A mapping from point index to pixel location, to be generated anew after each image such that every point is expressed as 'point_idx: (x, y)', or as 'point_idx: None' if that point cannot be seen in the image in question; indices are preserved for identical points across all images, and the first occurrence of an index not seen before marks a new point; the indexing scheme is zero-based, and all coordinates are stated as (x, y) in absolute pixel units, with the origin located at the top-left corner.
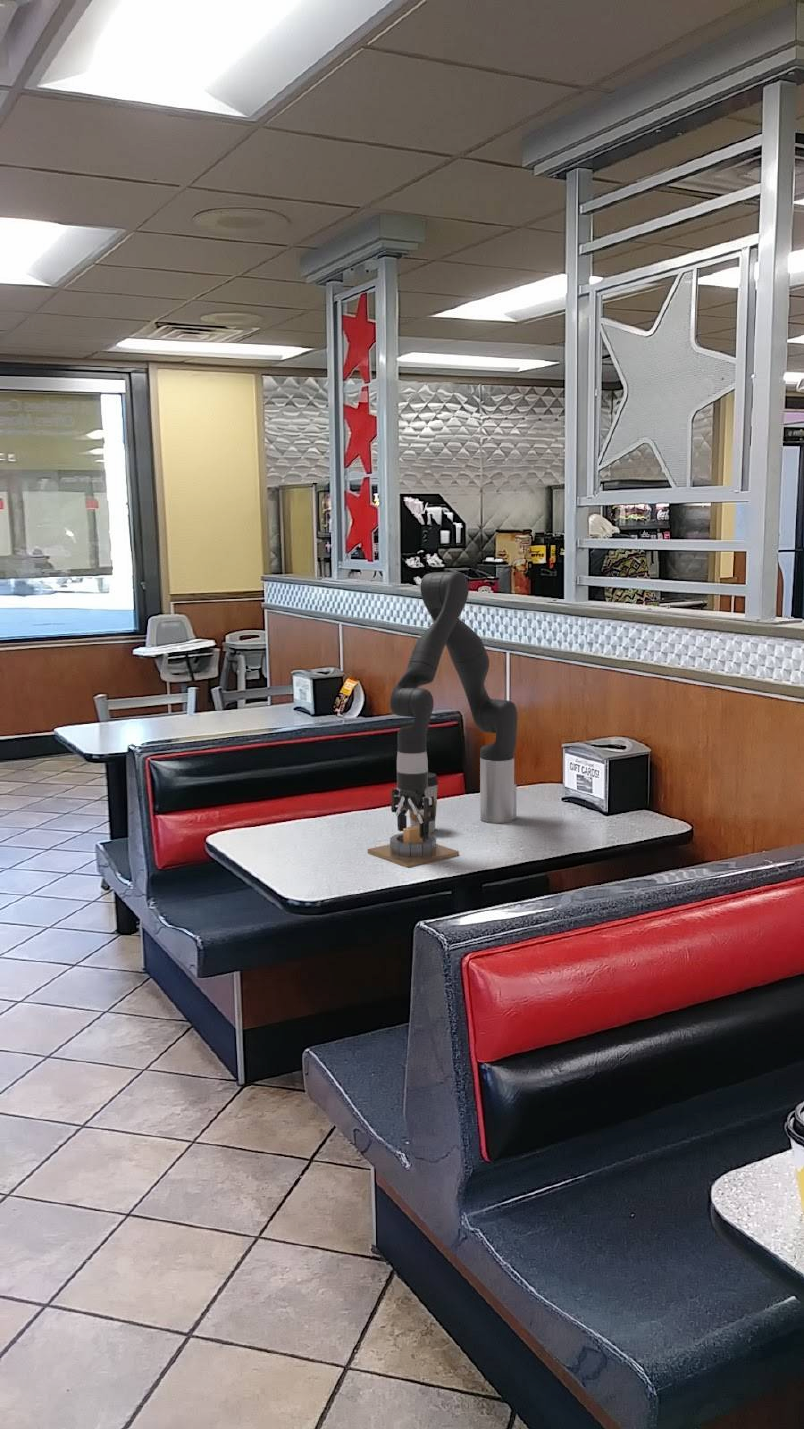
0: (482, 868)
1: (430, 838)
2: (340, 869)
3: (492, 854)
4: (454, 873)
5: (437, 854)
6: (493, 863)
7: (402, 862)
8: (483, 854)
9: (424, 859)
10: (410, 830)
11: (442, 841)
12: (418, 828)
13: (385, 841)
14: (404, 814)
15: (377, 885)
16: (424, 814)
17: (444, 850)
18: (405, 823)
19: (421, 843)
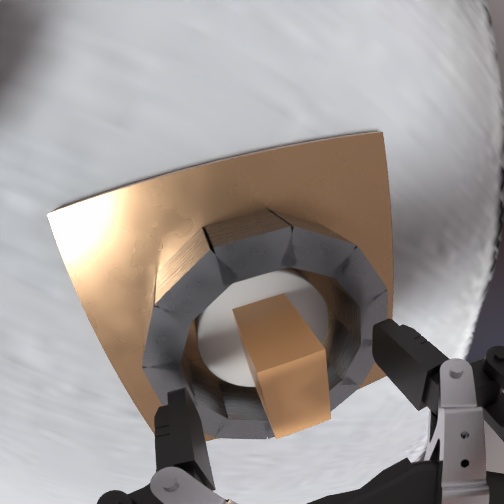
0: (494, 159)
1: (333, 271)
2: (286, 488)
3: (409, 18)
4: (483, 257)
5: (372, 245)
6: (479, 96)
7: (363, 384)
8: (398, 41)
9: (391, 316)
10: (329, 411)
11: (101, 79)
12: (326, 371)
13: (17, 343)
14: (196, 478)
15: (421, 429)
16: (494, 424)
17: (341, 185)
18: (192, 422)
19: None
